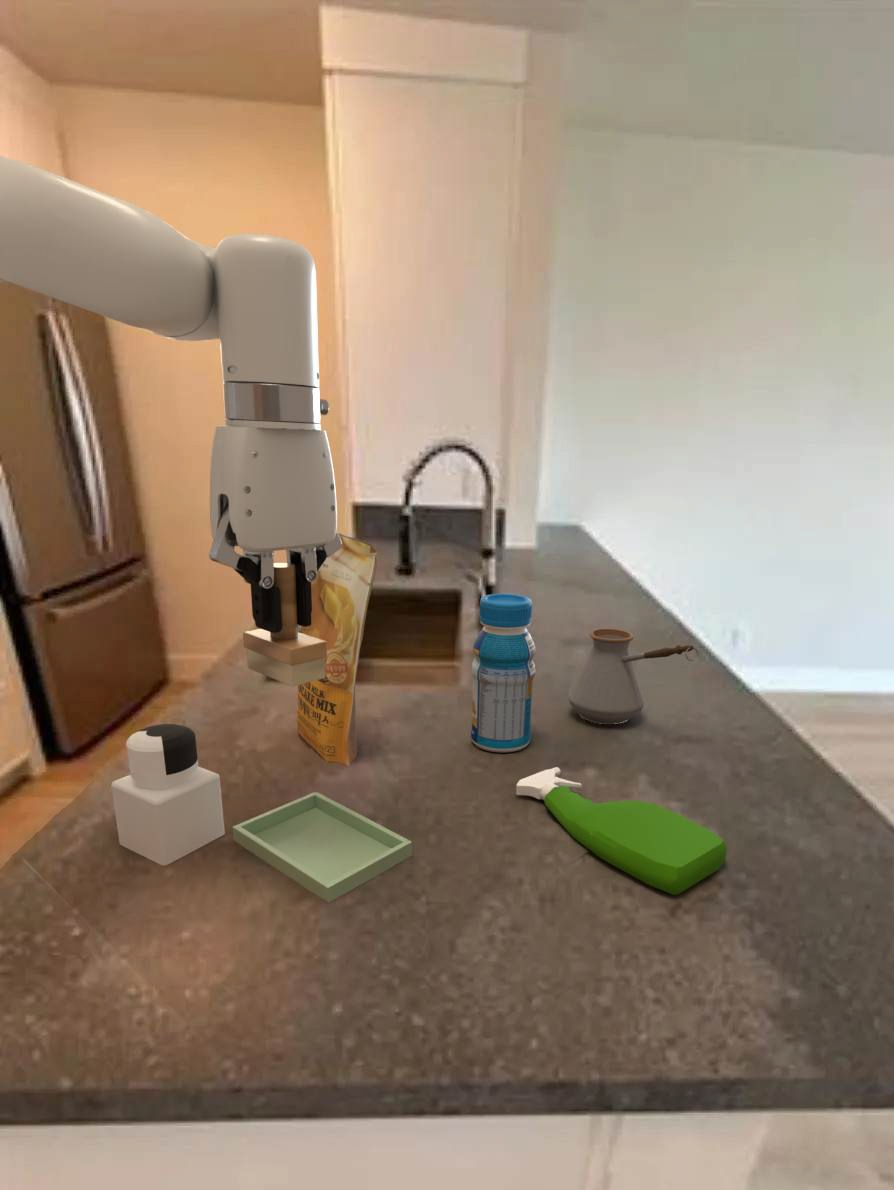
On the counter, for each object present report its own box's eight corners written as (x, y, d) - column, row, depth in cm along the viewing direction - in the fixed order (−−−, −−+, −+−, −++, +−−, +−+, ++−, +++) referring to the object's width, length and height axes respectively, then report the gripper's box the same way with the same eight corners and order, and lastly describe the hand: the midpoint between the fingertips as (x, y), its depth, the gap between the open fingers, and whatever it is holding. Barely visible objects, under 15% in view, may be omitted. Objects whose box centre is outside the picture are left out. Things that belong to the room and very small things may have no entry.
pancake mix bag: (330, 715, 106) (322, 521, 97) (385, 765, 91) (382, 541, 82) (284, 723, 102) (272, 523, 94) (334, 777, 87) (325, 544, 79)
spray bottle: (668, 905, 66) (494, 802, 83) (735, 863, 73) (561, 776, 90) (671, 876, 65) (495, 779, 83) (739, 837, 72) (563, 755, 89)
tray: (233, 843, 73) (232, 826, 72) (316, 806, 81) (315, 791, 80) (328, 906, 64) (327, 888, 63) (412, 858, 72) (412, 841, 71)
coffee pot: (551, 710, 111) (557, 615, 106) (607, 697, 117) (615, 607, 113) (651, 763, 94) (663, 653, 90) (711, 745, 100) (725, 641, 96)
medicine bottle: (181, 816, 78) (169, 712, 74) (226, 836, 74) (216, 728, 70) (118, 846, 72) (102, 735, 68) (164, 869, 68) (150, 753, 65)
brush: (244, 668, 67) (237, 561, 64) (280, 659, 70) (274, 557, 67) (292, 687, 63) (287, 574, 60) (328, 678, 66) (325, 569, 63)
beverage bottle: (493, 760, 93) (499, 609, 87) (457, 737, 100) (460, 595, 94) (544, 745, 98) (552, 601, 92) (506, 725, 105) (512, 589, 99)
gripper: (324, 413, 68) (329, 605, 73) (154, 403, 56) (176, 634, 61) (378, 415, 63) (379, 620, 69) (205, 405, 51) (224, 653, 57)
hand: (283, 624), depth 65 cm, fingers closed on brush, 2 cm apart
